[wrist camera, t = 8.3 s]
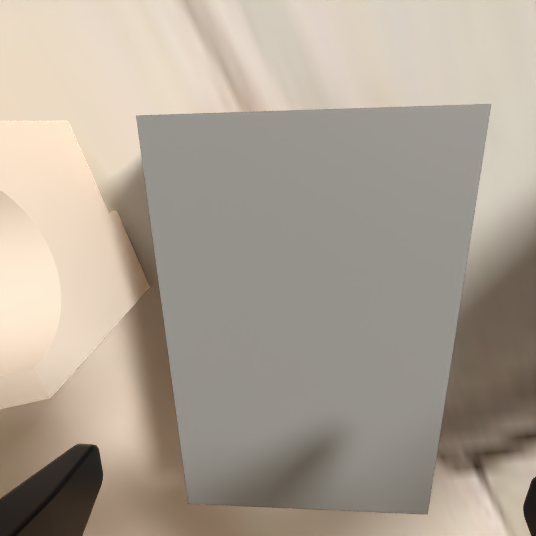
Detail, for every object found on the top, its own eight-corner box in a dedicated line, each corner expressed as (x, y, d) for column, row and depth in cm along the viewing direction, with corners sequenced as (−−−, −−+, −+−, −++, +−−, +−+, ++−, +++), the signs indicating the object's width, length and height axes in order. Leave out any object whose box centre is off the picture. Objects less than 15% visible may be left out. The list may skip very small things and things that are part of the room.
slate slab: (453, 107, 12) (491, 103, 10) (409, 459, 17) (427, 514, 14) (165, 116, 13) (136, 115, 10) (202, 452, 17) (188, 503, 15)
